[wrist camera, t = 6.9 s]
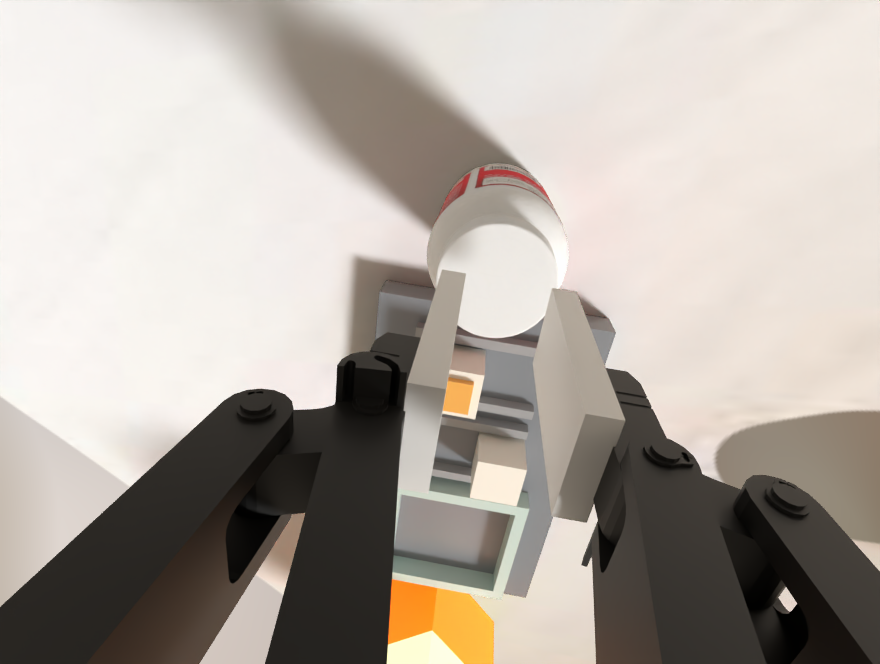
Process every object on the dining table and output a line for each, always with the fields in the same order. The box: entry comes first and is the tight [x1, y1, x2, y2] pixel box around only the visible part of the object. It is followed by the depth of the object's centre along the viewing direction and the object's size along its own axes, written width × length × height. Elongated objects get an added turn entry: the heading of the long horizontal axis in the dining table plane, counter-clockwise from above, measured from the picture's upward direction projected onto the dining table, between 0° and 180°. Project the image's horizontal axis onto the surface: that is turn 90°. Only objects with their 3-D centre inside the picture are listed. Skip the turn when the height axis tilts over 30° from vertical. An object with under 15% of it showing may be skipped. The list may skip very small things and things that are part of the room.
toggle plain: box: [470, 432, 527, 506], centre depth 32 cm, size 3×3×3 cm
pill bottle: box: [427, 163, 569, 338], centre depth 24 cm, size 6×6×11 cm
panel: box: [375, 280, 616, 600], centre depth 35 cm, size 24×14×4 cm, turn 172°
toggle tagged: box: [442, 345, 486, 419], centre depth 29 cm, size 3×3×3 cm
